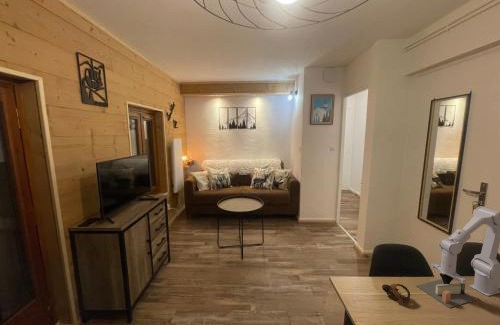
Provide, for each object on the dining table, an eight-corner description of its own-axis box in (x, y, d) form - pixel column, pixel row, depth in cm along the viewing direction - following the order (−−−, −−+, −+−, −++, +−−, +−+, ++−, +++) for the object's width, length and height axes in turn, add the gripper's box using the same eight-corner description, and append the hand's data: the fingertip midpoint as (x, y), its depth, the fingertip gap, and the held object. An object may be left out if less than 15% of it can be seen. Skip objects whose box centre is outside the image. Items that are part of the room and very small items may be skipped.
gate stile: (446, 299, 109) (447, 290, 109) (450, 301, 108) (450, 292, 107) (441, 300, 109) (442, 291, 108) (445, 303, 107) (446, 293, 107)
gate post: (460, 292, 114) (461, 281, 114) (465, 294, 112) (466, 284, 112) (457, 293, 114) (458, 282, 113) (462, 295, 112) (463, 285, 111)
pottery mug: (402, 292, 117) (410, 285, 112) (405, 311, 110) (414, 304, 105) (378, 283, 120) (384, 276, 115) (379, 301, 113) (386, 294, 108)
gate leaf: (458, 291, 114) (458, 282, 113) (460, 293, 112) (461, 284, 112) (435, 293, 113) (436, 284, 113) (437, 294, 112) (438, 285, 112)
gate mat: (441, 279, 124) (441, 279, 124) (476, 300, 109) (476, 299, 109) (416, 286, 120) (416, 285, 120) (449, 308, 105) (449, 307, 104)
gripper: (428, 256, 119) (426, 280, 120) (459, 272, 105) (456, 298, 106) (438, 254, 120) (436, 277, 122) (470, 270, 106) (467, 296, 108)
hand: (446, 287), depth 114 cm, fingers closed
